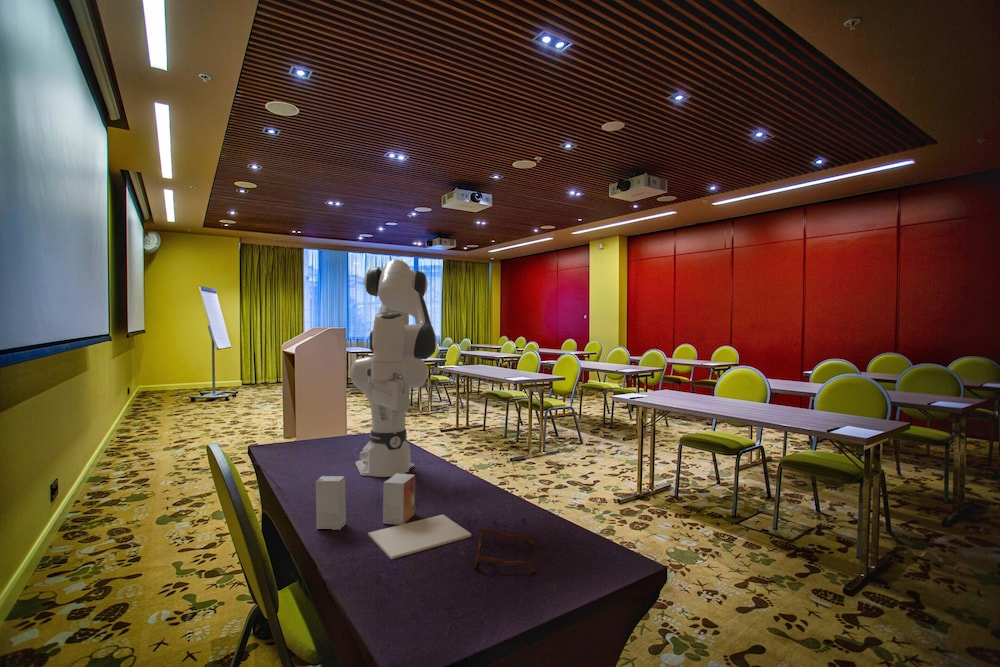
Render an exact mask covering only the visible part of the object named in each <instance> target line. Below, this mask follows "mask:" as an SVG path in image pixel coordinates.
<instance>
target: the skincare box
mask: <svg viewBox="0 0 1000 667" xmlns="http://www.w3.org/2000/svg"><path fill="white" fill-rule="evenodd" d="M346 507H347V506H346V476H344V475H343V476H341V475H338V476H337V475H335V476H334V475H328V476H327V475H321V476H320V477H319V478H318V479H317V480H316V481H315V511H316V512H315V516H316V519H315V520H316V521H315V522H316V530H318V529H332V531H335V530H336V531H337V530H338V531H341V530H342V529H343V528H344V526H345V525H346V524H347V521H346V520H347V518H346V517H347V516H346V515H347V511H346V509H347V508H346ZM342 527H343V528H342ZM341 528H342V529H341Z"/></svg>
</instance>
